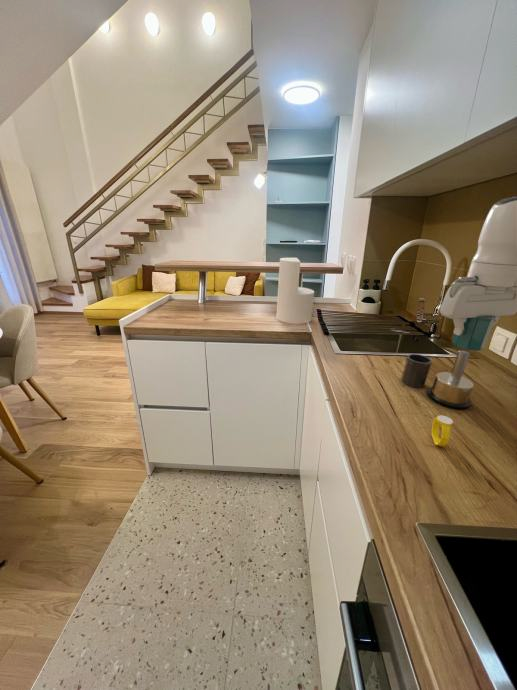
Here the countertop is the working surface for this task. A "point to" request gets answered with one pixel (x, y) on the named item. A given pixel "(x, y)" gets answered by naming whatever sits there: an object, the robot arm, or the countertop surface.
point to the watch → (446, 424)
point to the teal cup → (474, 333)
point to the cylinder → (293, 294)
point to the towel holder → (453, 386)
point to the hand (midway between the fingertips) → (471, 333)
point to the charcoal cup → (416, 370)
